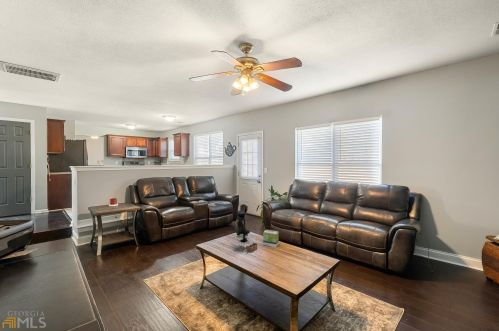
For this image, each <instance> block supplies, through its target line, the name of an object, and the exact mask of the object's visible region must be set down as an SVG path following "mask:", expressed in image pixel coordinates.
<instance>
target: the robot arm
mask: <svg viewBox="0 0 499 331" xmlns="http://www.w3.org/2000/svg"><path fill="white" fill-rule="evenodd" d="M239 209H240V210H238V212H237V214H236V220H237V223H236V225H237V226H235V227H232V232H234V233H236V236H239V235H241V234H243V239H242V240H239V242H240V243H241V242H242V243H246V242H248V240H247V239H248V236H249V234H250V233H251V231H250V230H249V229H247V227H246V224H247V223H246V216H247V213H248V210H249V206H248V205H246V204H240V206H239ZM246 235H247V237H246V238H245V236H246Z"/></svg>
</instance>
